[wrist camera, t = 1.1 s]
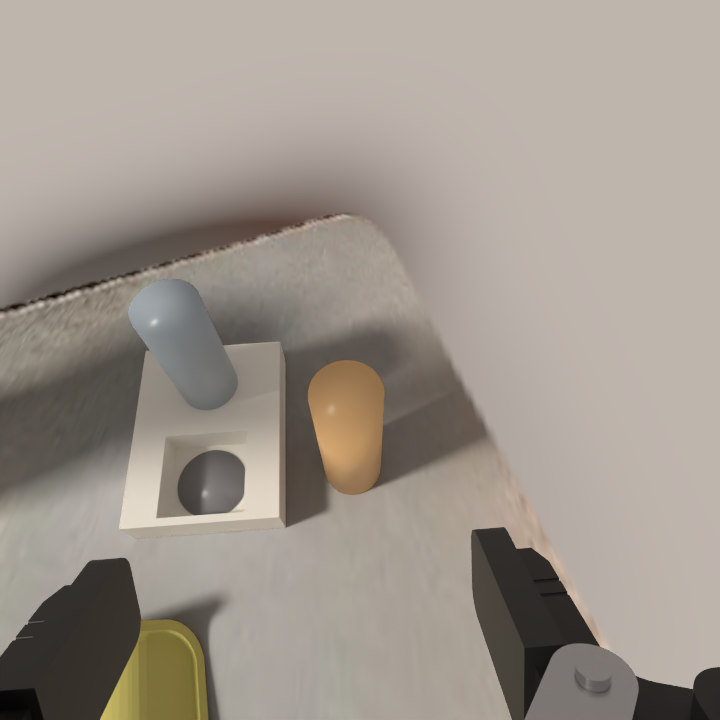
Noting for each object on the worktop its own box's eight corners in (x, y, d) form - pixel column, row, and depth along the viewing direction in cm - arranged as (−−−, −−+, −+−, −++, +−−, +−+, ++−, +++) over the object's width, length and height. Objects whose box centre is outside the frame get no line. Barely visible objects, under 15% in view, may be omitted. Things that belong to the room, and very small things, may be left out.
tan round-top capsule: (317, 485, 37) (297, 418, 27) (334, 434, 39) (321, 352, 29) (372, 501, 37) (373, 438, 26) (386, 448, 39) (392, 369, 28)
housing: (285, 527, 36) (248, 469, 25) (137, 538, 36) (34, 484, 25) (285, 361, 42) (255, 256, 31) (159, 369, 42) (85, 267, 31)
